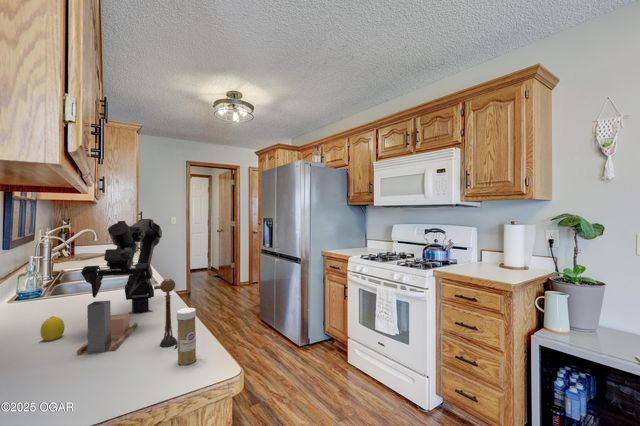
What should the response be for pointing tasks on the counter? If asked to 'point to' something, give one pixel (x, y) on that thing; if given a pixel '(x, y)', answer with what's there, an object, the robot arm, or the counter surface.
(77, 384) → the counter surface
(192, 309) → the sprinkles bottle
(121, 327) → the terracotta block
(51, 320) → the lemon
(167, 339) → the wooden tabletop sculpture
